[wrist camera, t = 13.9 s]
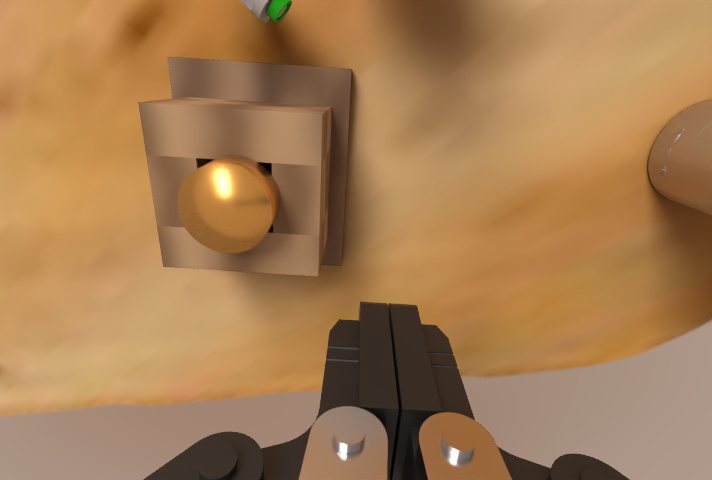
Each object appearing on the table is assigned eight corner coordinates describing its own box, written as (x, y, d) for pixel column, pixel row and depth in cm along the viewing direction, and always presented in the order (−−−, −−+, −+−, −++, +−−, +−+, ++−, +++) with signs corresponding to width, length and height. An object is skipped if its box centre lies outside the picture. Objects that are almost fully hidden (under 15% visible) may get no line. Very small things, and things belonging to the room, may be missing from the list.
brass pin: (296, 142, 32) (269, 167, 23) (296, 209, 35) (272, 256, 26) (226, 137, 32) (171, 160, 23) (230, 205, 35) (183, 250, 26)
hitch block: (351, 69, 32) (347, 65, 24) (342, 259, 39) (336, 310, 31) (175, 57, 32) (106, 49, 24) (197, 250, 39) (149, 298, 31)
